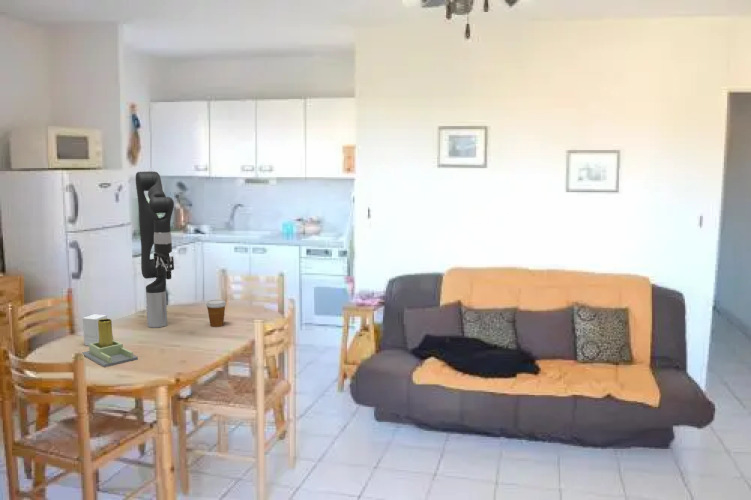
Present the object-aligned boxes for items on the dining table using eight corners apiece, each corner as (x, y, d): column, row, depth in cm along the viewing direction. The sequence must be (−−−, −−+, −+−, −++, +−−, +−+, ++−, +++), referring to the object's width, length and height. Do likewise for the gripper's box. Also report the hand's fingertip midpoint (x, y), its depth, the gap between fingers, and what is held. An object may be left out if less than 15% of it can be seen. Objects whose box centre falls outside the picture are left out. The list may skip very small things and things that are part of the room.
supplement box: (109, 342, 297) (107, 315, 295) (97, 347, 290) (95, 319, 288) (95, 340, 299) (94, 313, 297) (83, 345, 292) (82, 317, 290)
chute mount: (81, 354, 279) (81, 343, 279) (114, 347, 289) (113, 336, 288) (104, 367, 264) (103, 355, 263) (137, 359, 274) (137, 347, 273)
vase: (101, 350, 281) (99, 318, 279) (116, 350, 282) (114, 318, 280) (96, 355, 275) (94, 322, 273) (111, 355, 276) (109, 322, 274)
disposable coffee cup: (202, 326, 324) (202, 302, 322) (214, 321, 332) (213, 298, 330) (219, 328, 320) (218, 304, 318) (230, 323, 329) (229, 300, 327)
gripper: (147, 240, 296) (148, 276, 298) (162, 244, 286) (164, 281, 288) (163, 239, 301) (164, 273, 304) (178, 243, 291) (179, 279, 294)
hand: (164, 277), depth 296 cm, fingers open, 8 cm apart
